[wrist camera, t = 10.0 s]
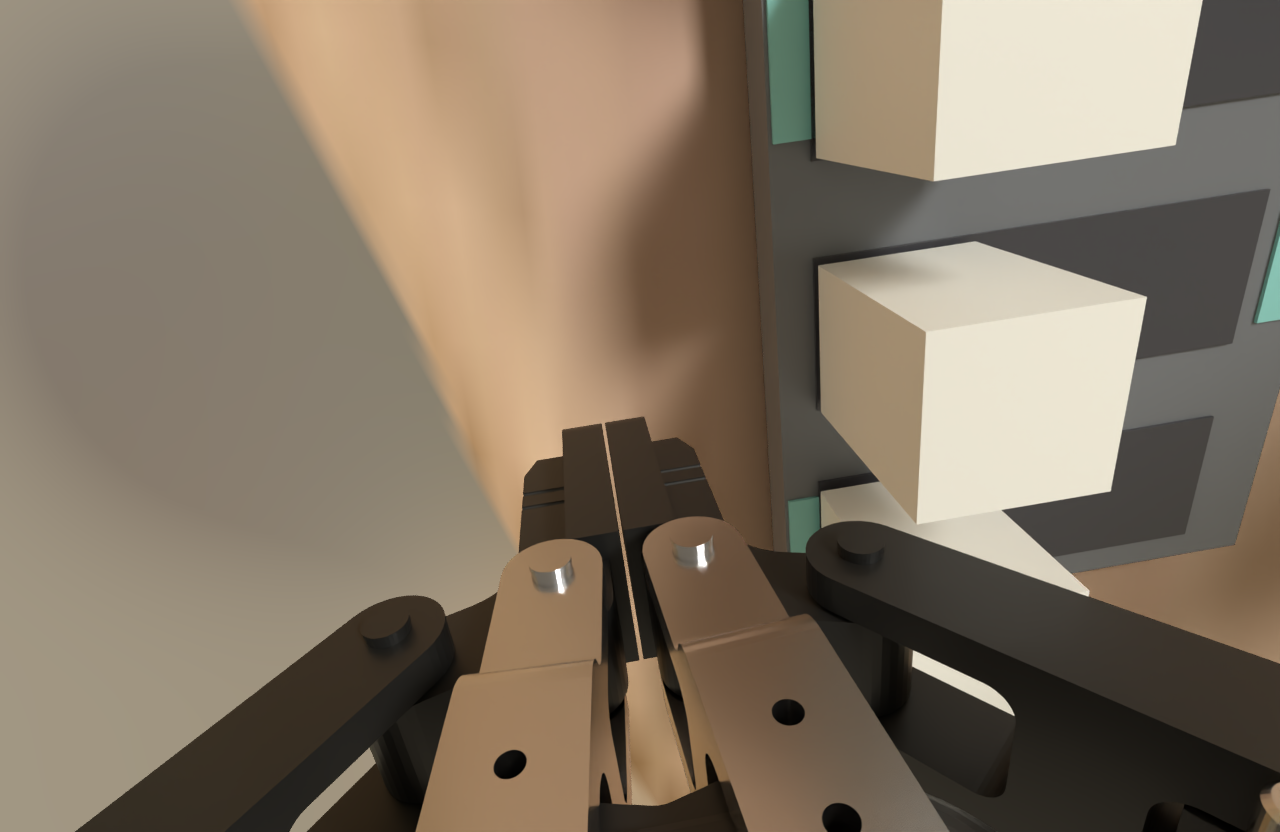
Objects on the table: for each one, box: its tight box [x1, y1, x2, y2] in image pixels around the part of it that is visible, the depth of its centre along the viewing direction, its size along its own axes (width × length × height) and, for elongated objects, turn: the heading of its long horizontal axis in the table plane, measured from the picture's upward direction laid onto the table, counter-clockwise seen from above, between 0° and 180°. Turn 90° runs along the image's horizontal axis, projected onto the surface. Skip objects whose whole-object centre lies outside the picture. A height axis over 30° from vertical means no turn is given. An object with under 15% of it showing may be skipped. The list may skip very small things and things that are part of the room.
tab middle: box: [818, 241, 1147, 524], centre depth 15 cm, size 4×4×6 cm
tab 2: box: [821, 482, 1090, 716], centre depth 18 cm, size 4×4×6 cm
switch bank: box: [743, 0, 1280, 574], centre depth 19 cm, size 15×19×2 cm
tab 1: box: [813, 0, 1203, 181], centre depth 13 cm, size 4×4×6 cm
